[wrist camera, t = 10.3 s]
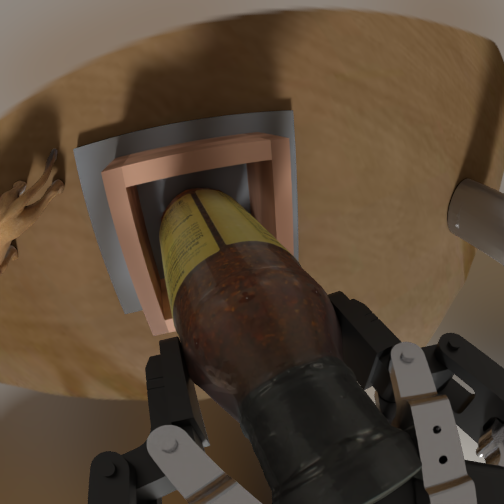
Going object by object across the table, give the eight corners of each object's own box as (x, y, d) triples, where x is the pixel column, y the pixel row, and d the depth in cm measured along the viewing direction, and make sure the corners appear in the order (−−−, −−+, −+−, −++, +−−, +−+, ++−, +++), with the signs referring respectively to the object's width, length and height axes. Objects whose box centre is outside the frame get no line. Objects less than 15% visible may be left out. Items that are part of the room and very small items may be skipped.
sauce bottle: (172, 270, 22) (245, 553, 5) (148, 197, 19) (175, 563, 2) (251, 246, 23) (413, 479, 6) (236, 172, 20) (498, 404, 3)
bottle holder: (287, 110, 21) (331, 112, 16) (294, 266, 29) (326, 303, 23) (76, 147, 17) (47, 161, 12) (125, 307, 25) (123, 357, 19)
